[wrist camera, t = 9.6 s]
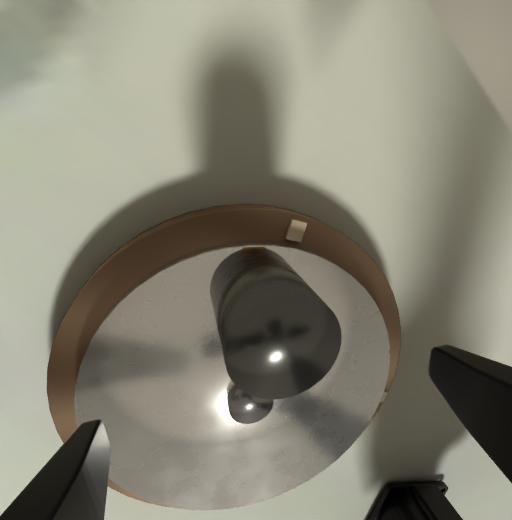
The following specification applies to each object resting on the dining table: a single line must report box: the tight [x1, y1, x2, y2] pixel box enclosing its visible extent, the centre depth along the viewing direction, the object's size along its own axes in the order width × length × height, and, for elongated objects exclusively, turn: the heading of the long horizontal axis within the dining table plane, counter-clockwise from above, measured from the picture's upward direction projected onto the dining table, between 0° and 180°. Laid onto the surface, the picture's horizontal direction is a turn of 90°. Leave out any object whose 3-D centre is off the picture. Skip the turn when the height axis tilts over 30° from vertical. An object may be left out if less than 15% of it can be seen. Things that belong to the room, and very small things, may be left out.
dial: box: [74, 241, 390, 510], centre depth 15 cm, size 17×17×6 cm
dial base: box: [47, 204, 401, 507], centre depth 19 cm, size 20×20×2 cm
